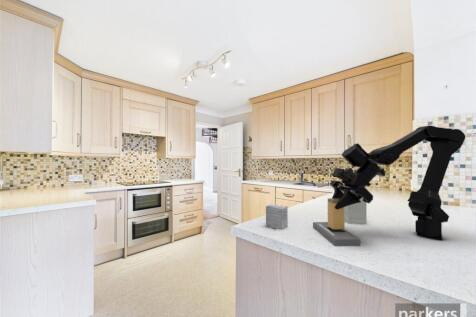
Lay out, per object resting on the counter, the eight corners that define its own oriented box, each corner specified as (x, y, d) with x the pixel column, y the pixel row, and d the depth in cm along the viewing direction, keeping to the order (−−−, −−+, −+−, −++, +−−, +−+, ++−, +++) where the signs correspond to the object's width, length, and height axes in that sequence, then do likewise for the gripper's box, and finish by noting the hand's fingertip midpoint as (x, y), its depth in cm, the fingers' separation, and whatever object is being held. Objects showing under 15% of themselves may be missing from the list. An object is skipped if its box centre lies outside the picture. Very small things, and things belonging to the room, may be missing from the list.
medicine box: (288, 228, 82) (288, 206, 82) (282, 231, 79) (282, 208, 79) (271, 224, 88) (271, 203, 88) (265, 226, 84) (265, 205, 84)
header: (332, 228, 82) (332, 221, 82) (360, 247, 64) (360, 238, 64) (313, 228, 82) (312, 221, 82) (335, 247, 64) (334, 238, 64)
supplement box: (367, 225, 85) (367, 195, 85) (347, 224, 87) (347, 194, 87) (360, 220, 92) (360, 192, 92) (342, 219, 94) (342, 192, 94)
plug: (338, 225, 75) (338, 198, 75) (344, 229, 71) (344, 200, 71) (327, 225, 75) (327, 198, 75) (333, 229, 71) (332, 200, 71)
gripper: (334, 160, 83) (307, 187, 82) (363, 160, 64) (328, 195, 64) (353, 179, 83) (327, 207, 82) (388, 185, 64) (354, 220, 64)
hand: (332, 207), depth 73 cm, fingers closed on plug, 4 cm apart
